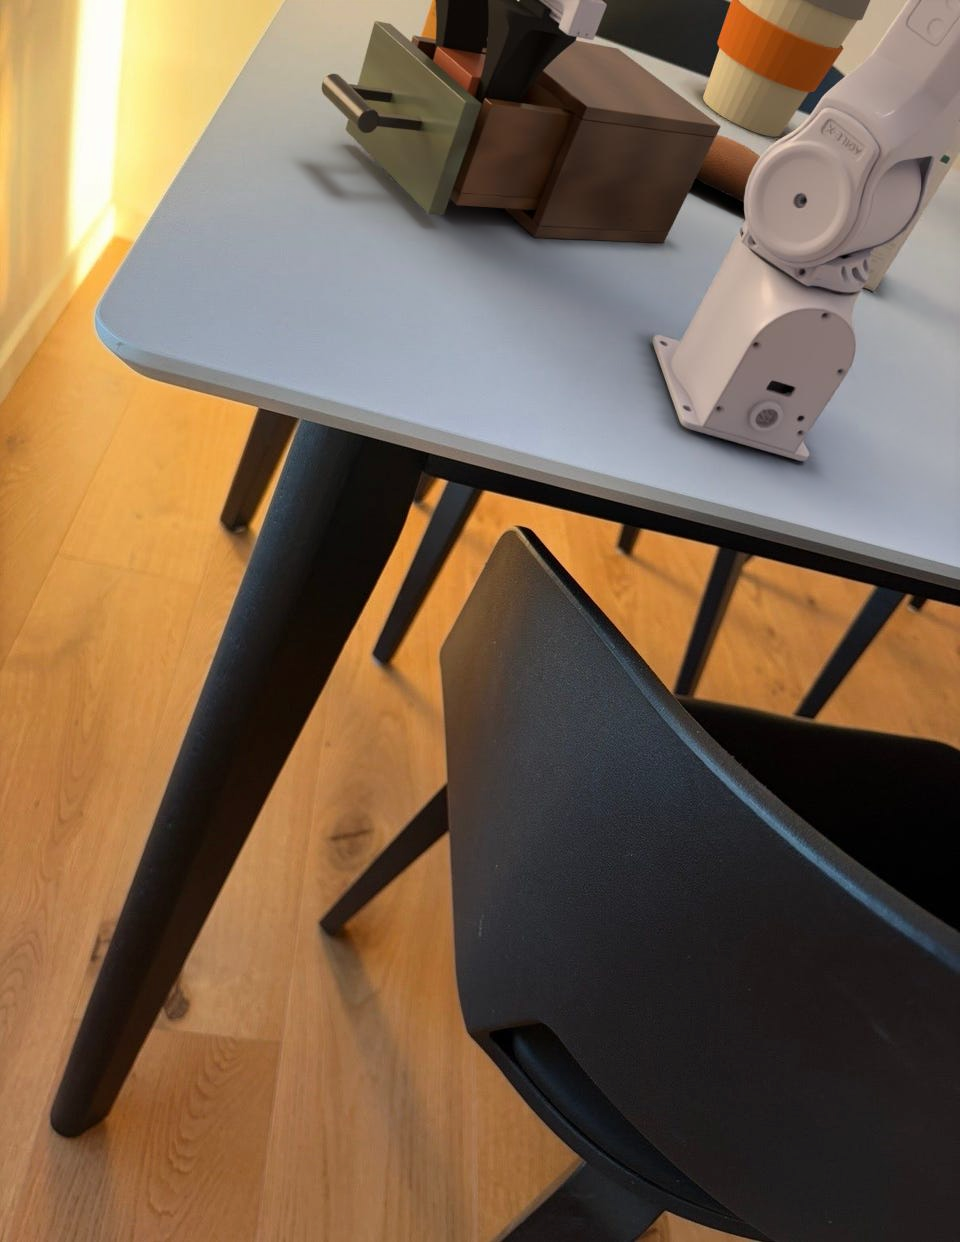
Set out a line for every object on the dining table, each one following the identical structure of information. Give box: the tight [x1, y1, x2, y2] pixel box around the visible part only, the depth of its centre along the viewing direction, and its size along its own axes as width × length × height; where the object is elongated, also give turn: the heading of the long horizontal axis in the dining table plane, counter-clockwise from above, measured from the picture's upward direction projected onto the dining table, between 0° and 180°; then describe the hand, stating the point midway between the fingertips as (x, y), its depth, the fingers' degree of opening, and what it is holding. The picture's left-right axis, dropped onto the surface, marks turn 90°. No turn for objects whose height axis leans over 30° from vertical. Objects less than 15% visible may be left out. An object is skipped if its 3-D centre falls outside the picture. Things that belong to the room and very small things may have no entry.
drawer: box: [321, 20, 575, 216], centre depth 69 cm, size 16×10×7 cm, turn 125°
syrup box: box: [863, 120, 960, 292], centre depth 86 cm, size 6×6×14 cm
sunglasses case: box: [695, 134, 761, 203], centre depth 92 cm, size 18×7×7 cm
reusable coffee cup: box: [702, 0, 871, 138], centre depth 110 cm, size 12×13×15 cm
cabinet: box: [484, 38, 721, 244], centre depth 76 cm, size 13×12×9 cm
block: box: [433, 47, 486, 144], centre depth 68 cm, size 4×4×4 cm
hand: (466, 107), depth 69 cm, fingers closed on block, 4 cm apart
